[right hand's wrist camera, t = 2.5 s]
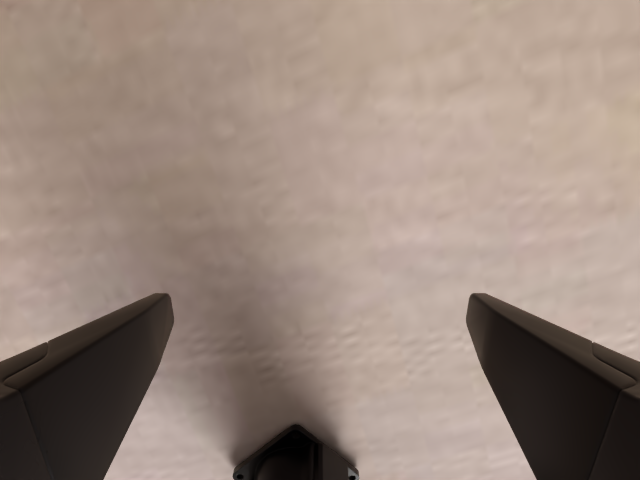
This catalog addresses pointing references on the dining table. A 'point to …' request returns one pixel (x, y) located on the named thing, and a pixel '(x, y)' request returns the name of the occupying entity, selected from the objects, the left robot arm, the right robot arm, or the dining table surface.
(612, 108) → the dining table surface
